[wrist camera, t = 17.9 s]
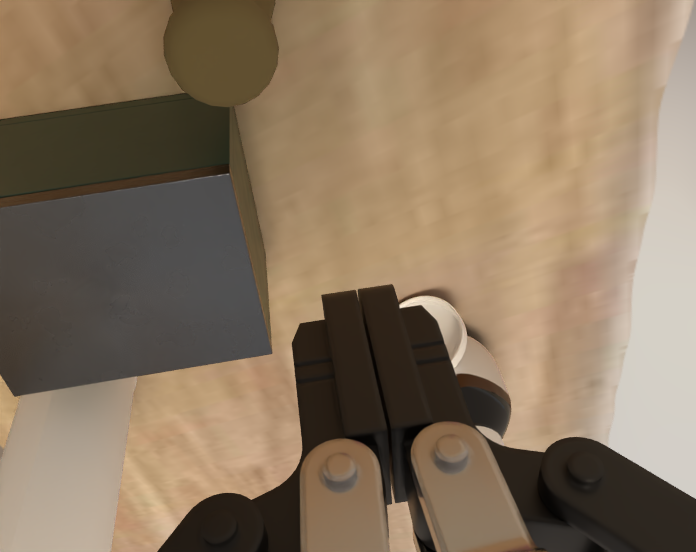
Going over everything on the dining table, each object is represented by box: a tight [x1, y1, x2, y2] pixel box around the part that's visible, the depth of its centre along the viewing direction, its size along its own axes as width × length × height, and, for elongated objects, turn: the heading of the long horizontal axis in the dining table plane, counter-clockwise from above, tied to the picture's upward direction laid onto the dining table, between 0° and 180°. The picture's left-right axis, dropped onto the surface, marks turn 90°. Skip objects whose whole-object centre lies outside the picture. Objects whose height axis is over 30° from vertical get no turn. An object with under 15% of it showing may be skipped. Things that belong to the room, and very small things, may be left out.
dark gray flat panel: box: [0, 164, 272, 397], centre depth 38 cm, size 16×13×1 cm
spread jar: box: [399, 296, 511, 446], centre depth 54 cm, size 12×11×12 cm
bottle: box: [0, 376, 137, 552], centre depth 42 cm, size 8×8×30 cm
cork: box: [164, 0, 279, 107], centre depth 34 cm, size 6×6×11 cm
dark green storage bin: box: [0, 93, 271, 338], centre depth 42 cm, size 15×13×9 cm
